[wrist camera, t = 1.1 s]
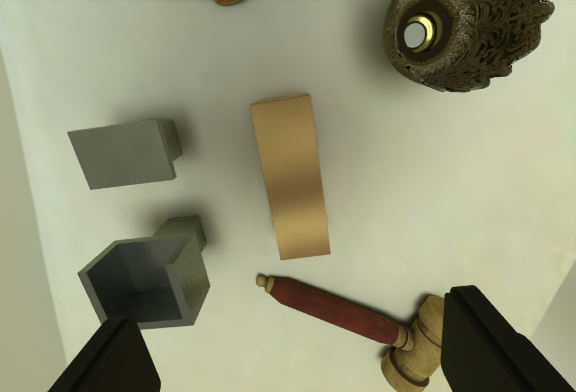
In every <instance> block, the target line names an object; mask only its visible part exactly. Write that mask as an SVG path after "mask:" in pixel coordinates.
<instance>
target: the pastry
mask: <svg viewBox="0 0 576 392" xmlns="http://www.w3.org/2000/svg"><path fill="white" fill-rule="evenodd" d="M214 1H216V2H217V3H218V4H220V5H230V4H234V3H237V2H238V1H240V0H214Z"/></svg>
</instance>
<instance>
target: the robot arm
mask: <svg viewBox="0 0 576 392" xmlns="http://www.w3.org/2000/svg"><path fill="white" fill-rule="evenodd" d="M440 362H441V367H442V370H443V373H444V375H445V377H446V379H447V381H448V383H449V385H450V387H451V389H452V391H453V392H576V391H575V390H574V389H573V388H572V387H571V386H570V385H569V384H568V383H567V381H566V380H565V379H564V378H563V377H562V376H561V375H560V374H559V373H558V371H557V370H556V369H555V368H554V367H553V366H552V365H551V364H550V363H549V361H548V360H547V359H546V358H545V357H544V356H543V355H542V354H541V353H540V352H539V350H538V349H537V348H536V347H535V346H534V345H533V344H532V343H531V341H530V340H528V339H527V338H526V337H525V336H524V335H522V334H520V333H517V332H516V331H515V330H514V329H513V327H512V326H511V325H510V324H509V323H508V322H507V321H506V320H505V318H504V317H503V316H502V315H501V314H500V313H499V312H498V310H497V309H496V308H495V307H494V306H493V305H492V304H491V302H490V301H489V300H488V299H487V298H486V297H485V296H484V295H483V293H482V292H481V291H480V290H479V289H478V288H477V287H476V286H474V285H469V286H458V287H452V288H451V290H450V293H446V294H445V298H444V313H443V328H442V343H441V357H440ZM160 388H161V381H160V378H159V375H158V373H157V371H156V368H155V366H154V363H153V361H152V358H151V356H150V354H149V351H148V349H147V346H146V344H145V341H144V339H143V336H142V334H141V332H140V329H139V327H138V324H137V322H136V321H134V320H132V318H131V317H129V316H121V317H110V318H108V319H106V320H105V321H104V322H103V324H102V325H101V326H100V327H99V329H98V330H97V331H96V332H95V334H94V335H93V336H92V337H91V339H90V340H89V341H88V342H87V344H86V345H85V346H84V347H83V348H82V350H81V351H80V352H79V353H78V355H77V356H76V357H75V358H74V360H73V361H72V362H71V363H70V365H69V366H68V367H67V368H66V370H65V371H64V372H63V373H62V375H61V376H60V377H59V378H58V379H57V381H56V382H55V383H54V384H53V386H52V387H51V388H50V389H49V391H48V392H160Z"/></svg>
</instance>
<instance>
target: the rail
mask: <svg viewBox="0 0 576 392" xmlns="http://www.w3.org/2000/svg"><path fill="white" fill-rule="evenodd" d="M250 110H251V115H252V120H253V125H254V130H255V135H256V140H257V145H258V150H259V155H260V160H261V165H262V170H263V174H264V179H265V184H266V189H267V194H268V199H269V204H270V209H271V214H272V219H273V224H274V229H275V234H276V239H277V244H278V249H279V254H280V259H281V260H287V259H295V258H304V257H312V256H320V255H328V254H331V252H330V245H329V237H328V229H327V221H326V214H325V206H324V198H323V190H322V183H321V175H320V167H319V159H318V151H317V144H316V136H315V128H314V120H313V113H312V105H311V97H310V95H309V93H304V94H298V95H292V96H287V97H281V98H275V99H269V100H263V101H258V102H256V103H254V104H252V105H250Z"/></svg>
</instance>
